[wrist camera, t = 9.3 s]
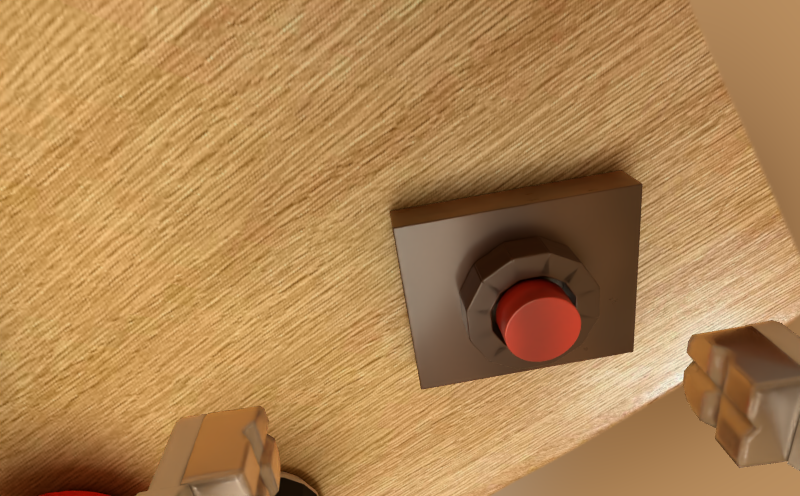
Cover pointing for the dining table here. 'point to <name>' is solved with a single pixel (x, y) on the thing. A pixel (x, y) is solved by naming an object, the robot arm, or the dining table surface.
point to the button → (537, 320)
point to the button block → (518, 271)
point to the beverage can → (294, 486)
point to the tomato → (74, 493)
